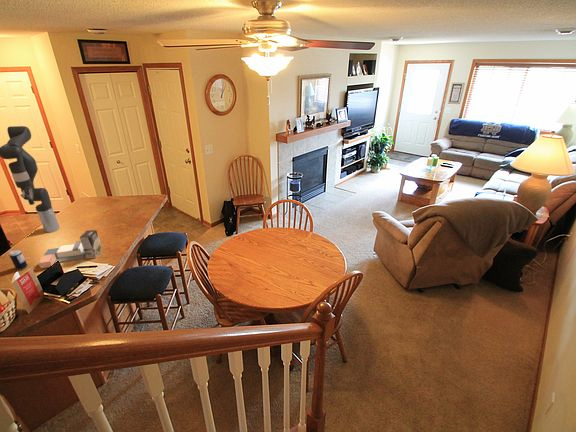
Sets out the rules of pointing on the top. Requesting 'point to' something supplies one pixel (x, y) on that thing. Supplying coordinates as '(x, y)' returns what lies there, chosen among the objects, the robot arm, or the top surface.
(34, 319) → the top surface
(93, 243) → the coffee box
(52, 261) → the pink block
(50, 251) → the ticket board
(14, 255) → the beverage can
